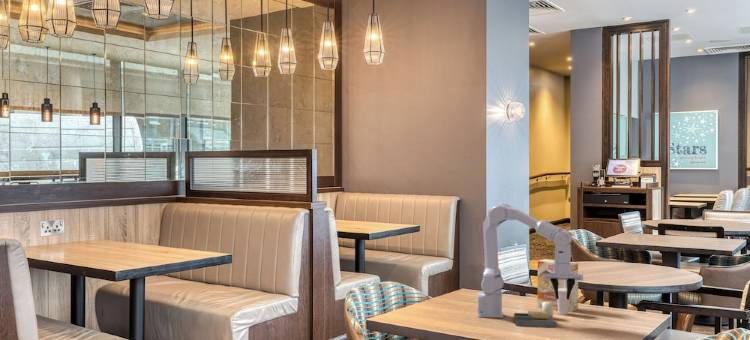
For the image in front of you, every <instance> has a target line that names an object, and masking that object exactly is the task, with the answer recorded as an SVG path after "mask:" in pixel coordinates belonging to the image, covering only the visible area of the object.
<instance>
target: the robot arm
mask: <svg viewBox="0 0 750 340" xmlns="http://www.w3.org/2000/svg"><path fill="white" fill-rule="evenodd" d="M512 220H515V221H518V222H520V223H522V224H523V225H524V224H525V225H526V226H527V227H528V226H529V227H531V228H533V229H535V233H536V234H537V235H539V236H541V237H544V238H545V239H547V240H548V241H550V242H553V244H554V260H555V273H548V274H542V279H544V280H546V279H550V280H551V283H552V285H553V288H554V291H555V295H556V299H558V298H559V296H558V280H567V300H569V298H570V293H571V290H572V288H573V286H574V284H575V280H578V281H584V275H583V274H582V273H581V274H580V273H578V274H571V262H572V261H571V260H572V259H571V253H572V252H571V244H570V243H571V242H572V241H573V235H572V233H571V232H570V231H568V230H567V229H563V228H562V227H561V226H556V225H554V224H553V223H551V221H550V220H548V219H547V220H544V219H542V220H538V219H536V218H534V217H533V216H531V215H529V214H527V213H525V212H524V211H522V210H520V209H518V208H517V207H515V206H511V205H509V204H508V203H506V204H503V203H502V204H501V205H500V204H498V205H497V204H496V205H494V206H492V207H491V208H490V209H489V210H488V212H487V215H486V217H485V219H484V221H483V222H482V230H483V233H482V234H483V251H484V252H483V253H484V254H483V255H484V271H483V274H482V281H481V282H480V287H481V288H480V289H482V292H478V293H477V294H478V295H477V296H478V298H477V299H478V300H477V302H478V303H477V304H478V306H477V308H476V309H477V313H478V317H479V318H499V319H500V318H501V319H503V318H504V314H503V307H502V306H503V305H502V304H503V303H502V301H503V298H502V297H503V296H502V295H503V293H502V292H503V291H502V289H503V288H504V285H505V281H504V279H503V277H502V272H501V269H500V268H499V251H498V248H499V247H498V231H497V229H498V227H499V226H501V225H502V224H503V223H504V222H506V221H512ZM557 279H558V280H557Z"/></svg>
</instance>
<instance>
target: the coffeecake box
mask: <svg viewBox="0 0 750 340" xmlns="http://www.w3.org/2000/svg"><path fill="white" fill-rule="evenodd" d="M548 273H555V259H549V258H548V259H547V258H542V259H539V260H537V307H538V308H542V302H552V303H553V310H555V311H558V305H557V299H556V295H555V291H554V288H553V285H552V283H551V280H550V279H546V280H544V279H542V274H548ZM571 274H579V262H575V261H571ZM557 280H558V279H557ZM558 288H564V280H558ZM566 289H567V280H566ZM577 310H579V280H575V284H574V286H573V288H572V293H571V296H570V304H569V312H568V313H573V312H575V311H577Z"/></svg>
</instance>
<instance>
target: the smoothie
mask: <svg viewBox="0 0 750 340" xmlns="http://www.w3.org/2000/svg"><path fill="white" fill-rule="evenodd" d="M571 293H572V290H571ZM571 293H570V296H571ZM558 296H559V298H558V299H557V305H558V310H557V312H558V314H559V315H562V316H566V315H569V313H570V312H569V304H570V298H569V300H567V289H566V280H564V288H558Z"/></svg>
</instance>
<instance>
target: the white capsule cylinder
mask: <svg viewBox="0 0 750 340" xmlns="http://www.w3.org/2000/svg"><path fill="white" fill-rule="evenodd" d="M541 312H550V314H551V316H552V318H553V319H554V317H553V316H554V309H553V303H552V302H542V307H541Z"/></svg>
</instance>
